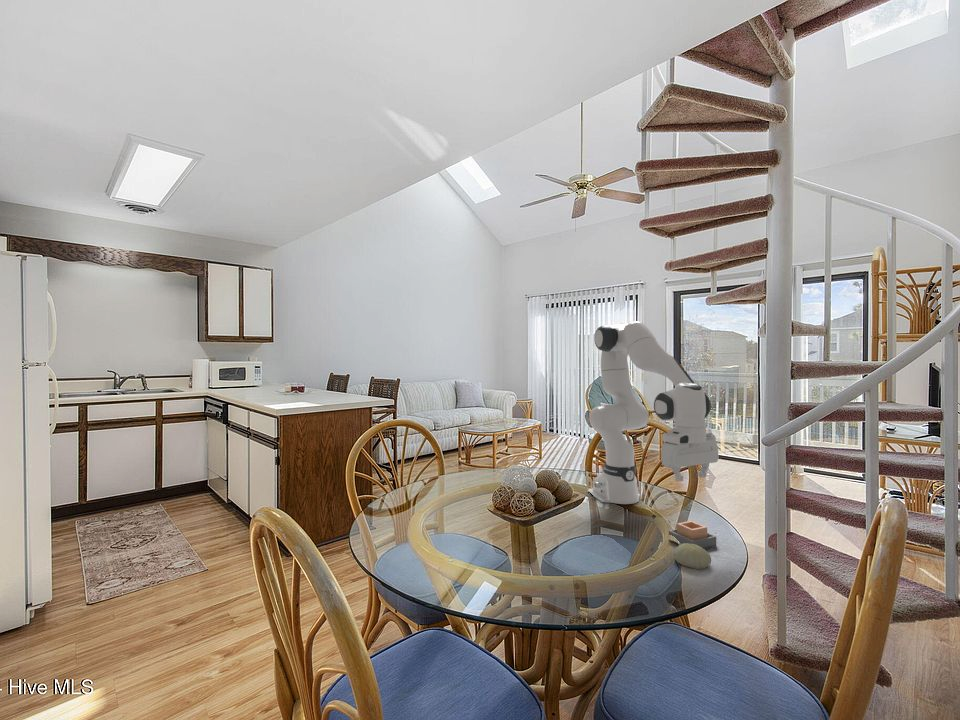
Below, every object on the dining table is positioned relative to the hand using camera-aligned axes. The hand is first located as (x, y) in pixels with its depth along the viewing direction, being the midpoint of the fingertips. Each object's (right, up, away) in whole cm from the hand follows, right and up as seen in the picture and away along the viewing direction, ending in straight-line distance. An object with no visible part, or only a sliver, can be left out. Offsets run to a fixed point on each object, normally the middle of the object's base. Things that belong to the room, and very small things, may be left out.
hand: (690, 479), depth 138 cm
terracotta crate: (0, -19, -2) cm, 19 cm away
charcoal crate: (0, -19, -2) cm, 19 cm away
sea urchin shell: (-7, -20, -15) cm, 26 cm away
